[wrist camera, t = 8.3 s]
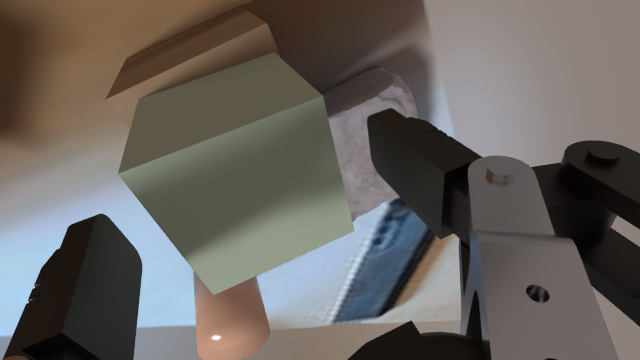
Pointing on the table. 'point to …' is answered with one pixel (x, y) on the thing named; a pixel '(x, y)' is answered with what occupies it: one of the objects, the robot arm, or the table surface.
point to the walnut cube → (190, 58)
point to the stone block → (364, 132)
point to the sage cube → (238, 170)
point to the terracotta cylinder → (230, 320)
